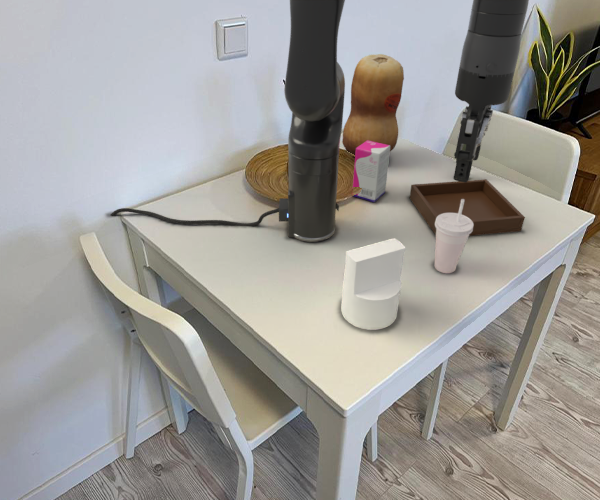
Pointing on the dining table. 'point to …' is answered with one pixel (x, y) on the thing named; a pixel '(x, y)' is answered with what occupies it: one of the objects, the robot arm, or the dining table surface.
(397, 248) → the cylinder with rectangular tab
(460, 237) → the smoothie
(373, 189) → the supplement box
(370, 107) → the butternut squash
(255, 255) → the dining table surface
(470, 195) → the tray
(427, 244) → the dining table surface
